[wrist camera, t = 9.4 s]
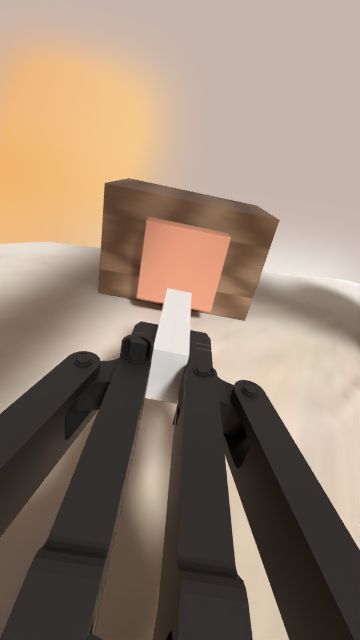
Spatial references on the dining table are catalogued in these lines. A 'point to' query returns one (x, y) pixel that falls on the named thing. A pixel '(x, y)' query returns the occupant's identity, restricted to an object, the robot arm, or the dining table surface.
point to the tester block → (192, 209)
